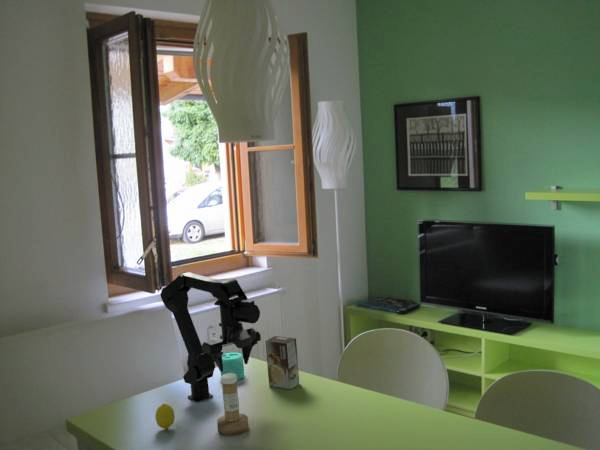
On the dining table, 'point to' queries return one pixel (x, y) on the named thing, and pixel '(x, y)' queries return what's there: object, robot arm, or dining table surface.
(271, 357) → the coffee box
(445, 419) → the dining table surface
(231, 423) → the walnut base
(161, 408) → the lemon
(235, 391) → the sprinkles bottle
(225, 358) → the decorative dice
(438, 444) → the dining table surface
